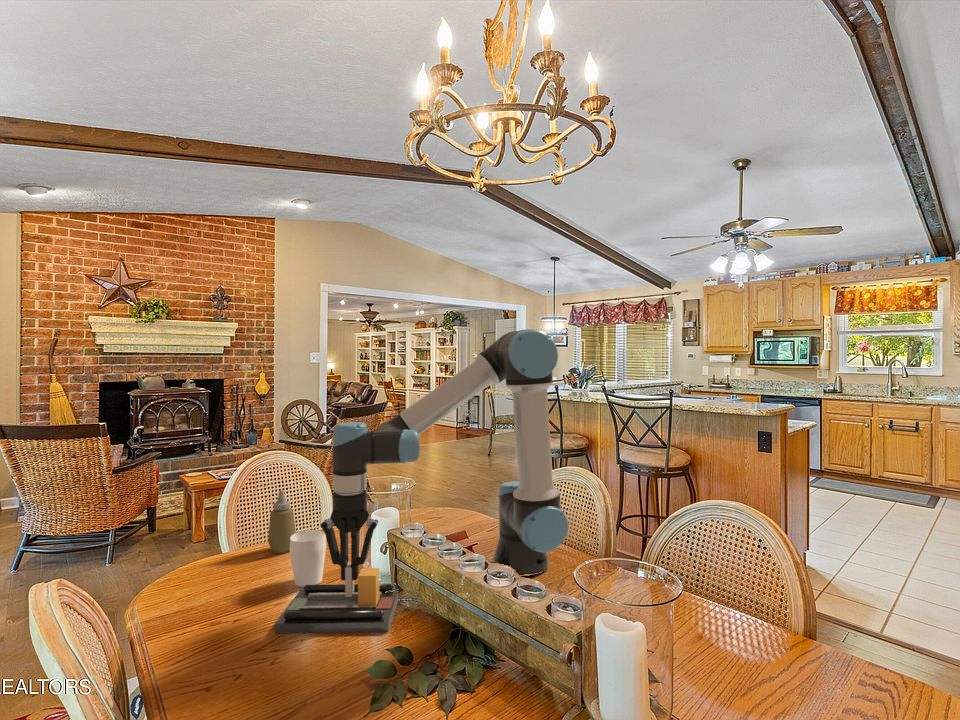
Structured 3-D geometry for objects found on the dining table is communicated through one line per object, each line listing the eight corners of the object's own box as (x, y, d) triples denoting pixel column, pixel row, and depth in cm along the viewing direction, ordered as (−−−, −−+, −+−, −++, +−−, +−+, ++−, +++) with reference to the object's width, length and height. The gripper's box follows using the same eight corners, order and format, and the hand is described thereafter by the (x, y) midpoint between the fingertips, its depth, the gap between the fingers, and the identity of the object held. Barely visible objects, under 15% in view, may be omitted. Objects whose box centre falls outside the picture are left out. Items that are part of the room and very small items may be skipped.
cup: (332, 574, 133) (331, 529, 133) (318, 590, 124) (317, 542, 124) (300, 573, 134) (299, 529, 134) (283, 589, 125) (282, 541, 125)
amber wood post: (379, 598, 115) (379, 568, 115) (376, 606, 111) (375, 575, 111) (362, 598, 115) (361, 568, 115) (358, 607, 111) (357, 576, 111)
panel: (399, 595, 121) (399, 580, 121) (388, 631, 105) (388, 614, 105) (301, 596, 121) (301, 581, 121) (275, 633, 105) (274, 616, 105)
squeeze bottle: (302, 548, 151) (301, 489, 151) (279, 557, 144) (278, 496, 144) (285, 543, 156) (284, 486, 155) (262, 552, 149) (261, 492, 148)
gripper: (381, 486, 117) (381, 586, 117) (326, 486, 117) (326, 585, 117) (374, 495, 109) (374, 602, 110) (316, 495, 109) (316, 601, 109)
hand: (349, 593), depth 113 cm, fingers closed
